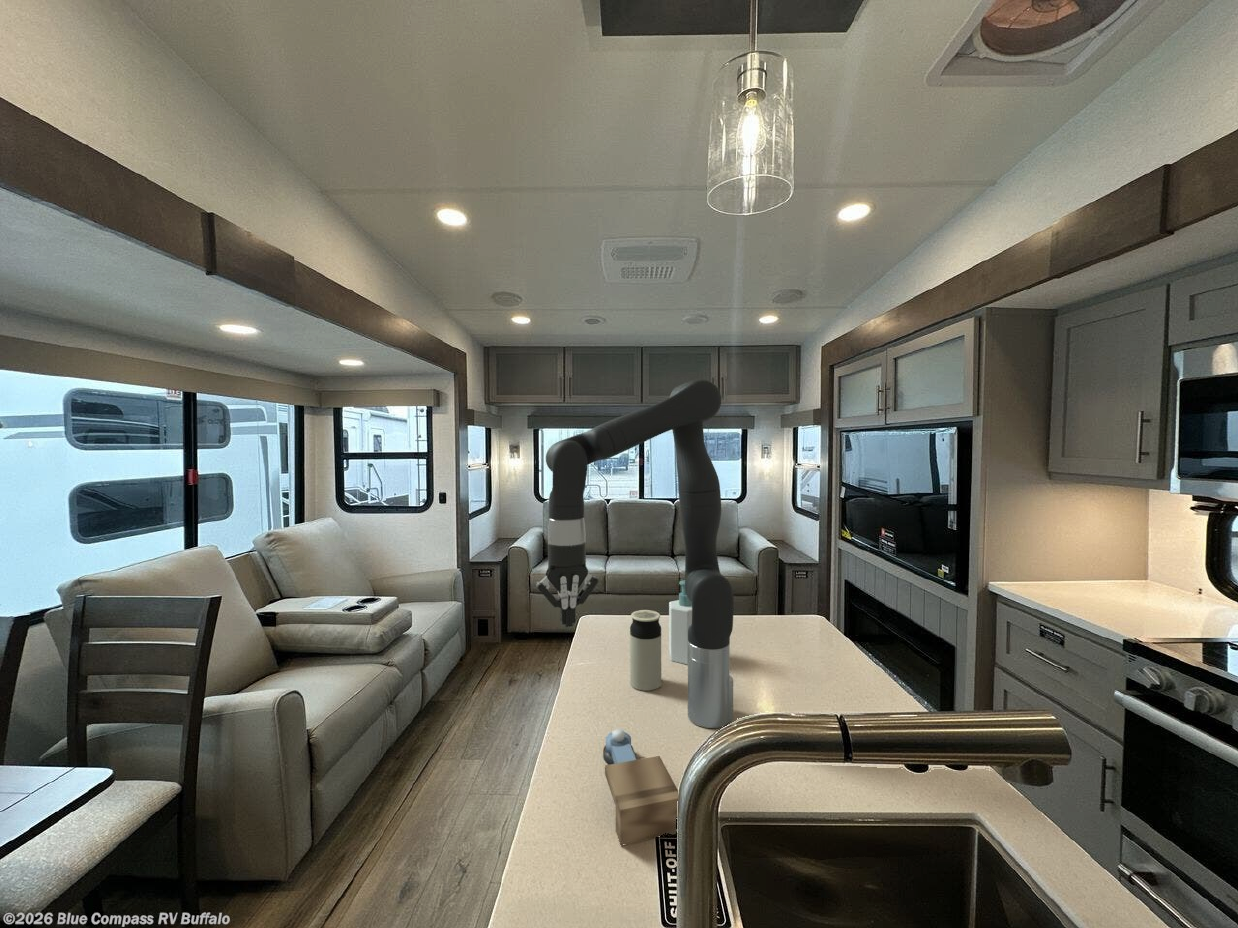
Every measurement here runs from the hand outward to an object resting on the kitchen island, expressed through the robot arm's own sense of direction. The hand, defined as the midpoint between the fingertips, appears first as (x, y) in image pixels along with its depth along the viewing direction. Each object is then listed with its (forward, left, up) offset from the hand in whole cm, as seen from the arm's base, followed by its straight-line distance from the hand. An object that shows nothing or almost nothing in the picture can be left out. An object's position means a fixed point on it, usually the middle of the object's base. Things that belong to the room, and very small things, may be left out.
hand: (567, 625), depth 96 cm
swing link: (-9, +11, -23) cm, 27 cm away
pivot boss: (-9, +6, -25) cm, 27 cm away
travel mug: (-23, -20, -25) cm, 40 cm away
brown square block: (-9, +21, -25) cm, 34 cm away
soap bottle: (-39, -32, -25) cm, 56 cm away
